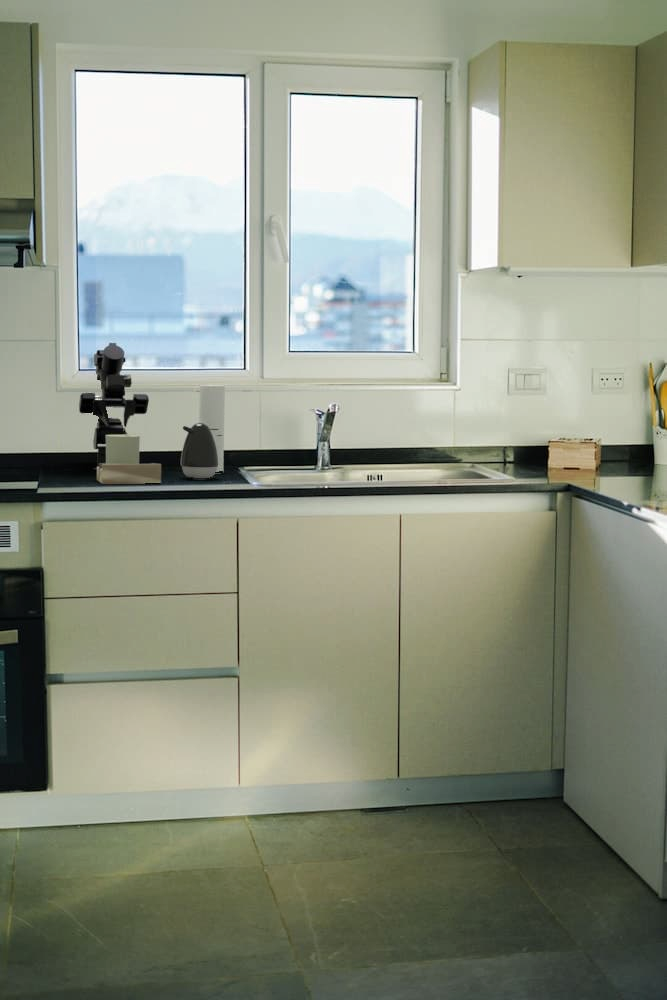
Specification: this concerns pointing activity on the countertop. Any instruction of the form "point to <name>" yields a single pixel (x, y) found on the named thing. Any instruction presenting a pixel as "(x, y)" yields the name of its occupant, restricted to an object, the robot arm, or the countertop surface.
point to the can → (122, 449)
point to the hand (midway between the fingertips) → (117, 425)
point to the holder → (129, 473)
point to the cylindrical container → (213, 416)
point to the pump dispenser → (199, 452)
